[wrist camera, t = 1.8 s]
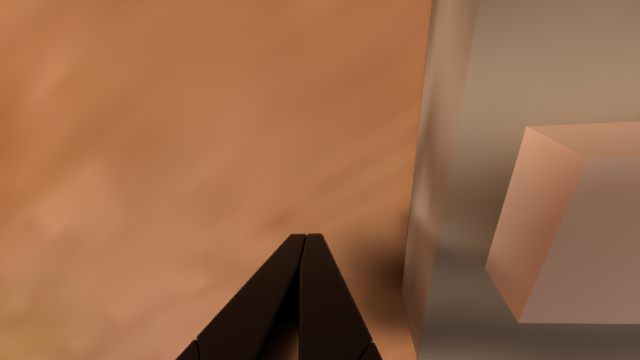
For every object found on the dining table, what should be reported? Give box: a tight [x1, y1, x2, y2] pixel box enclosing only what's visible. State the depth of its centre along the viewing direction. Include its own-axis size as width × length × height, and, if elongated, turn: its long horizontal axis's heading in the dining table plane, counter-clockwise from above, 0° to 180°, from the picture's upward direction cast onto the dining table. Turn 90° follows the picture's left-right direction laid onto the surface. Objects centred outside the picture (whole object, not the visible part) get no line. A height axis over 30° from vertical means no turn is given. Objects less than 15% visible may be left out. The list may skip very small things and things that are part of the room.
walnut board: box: [401, 0, 640, 360], centre depth 9 cm, size 16×14×4 cm
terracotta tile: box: [485, 121, 640, 324], centre depth 7 cm, size 5×5×2 cm
